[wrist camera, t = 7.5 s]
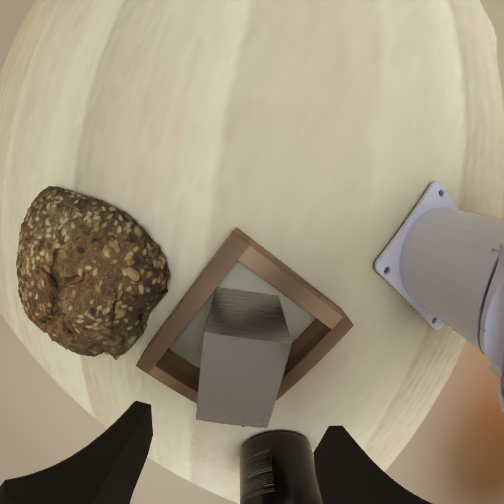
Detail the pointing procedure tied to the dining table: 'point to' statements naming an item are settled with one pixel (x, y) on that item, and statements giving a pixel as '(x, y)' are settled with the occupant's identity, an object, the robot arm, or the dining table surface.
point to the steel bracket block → (242, 358)
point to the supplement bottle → (278, 470)
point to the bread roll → (87, 273)
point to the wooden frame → (276, 274)
